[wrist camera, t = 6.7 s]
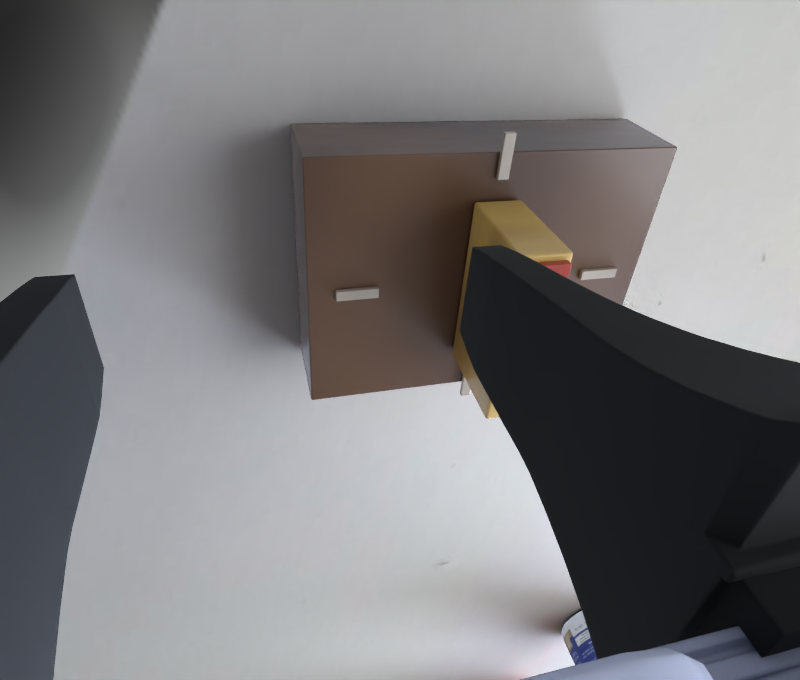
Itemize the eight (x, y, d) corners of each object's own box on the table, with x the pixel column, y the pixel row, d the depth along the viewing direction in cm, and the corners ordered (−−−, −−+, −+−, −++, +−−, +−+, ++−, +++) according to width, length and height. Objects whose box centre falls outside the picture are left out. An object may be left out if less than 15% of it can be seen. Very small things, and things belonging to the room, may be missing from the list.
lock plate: (301, 361, 24) (312, 415, 22) (289, 103, 18) (301, 137, 15) (564, 333, 27) (600, 377, 24) (632, 101, 21) (687, 129, 18)
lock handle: (491, 349, 22) (534, 418, 19) (451, 353, 22) (488, 425, 19) (521, 199, 18) (579, 256, 16) (474, 201, 18) (523, 261, 15)
